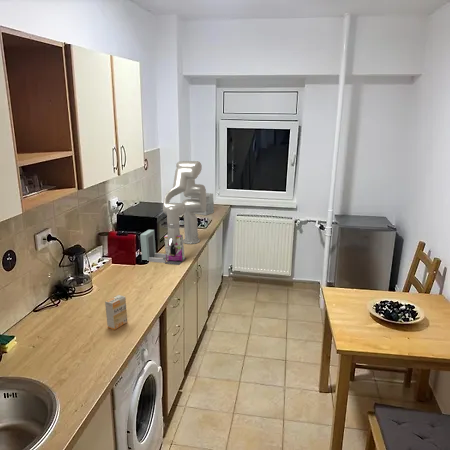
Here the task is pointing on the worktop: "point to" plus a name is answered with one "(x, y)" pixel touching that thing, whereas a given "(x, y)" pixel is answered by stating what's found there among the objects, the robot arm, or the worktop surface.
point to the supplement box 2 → (208, 204)
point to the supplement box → (116, 312)
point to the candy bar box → (178, 248)
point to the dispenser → (150, 248)
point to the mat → (174, 262)
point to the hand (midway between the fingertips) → (175, 252)
